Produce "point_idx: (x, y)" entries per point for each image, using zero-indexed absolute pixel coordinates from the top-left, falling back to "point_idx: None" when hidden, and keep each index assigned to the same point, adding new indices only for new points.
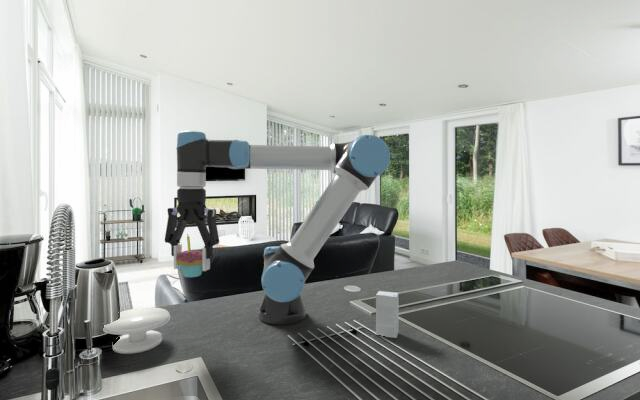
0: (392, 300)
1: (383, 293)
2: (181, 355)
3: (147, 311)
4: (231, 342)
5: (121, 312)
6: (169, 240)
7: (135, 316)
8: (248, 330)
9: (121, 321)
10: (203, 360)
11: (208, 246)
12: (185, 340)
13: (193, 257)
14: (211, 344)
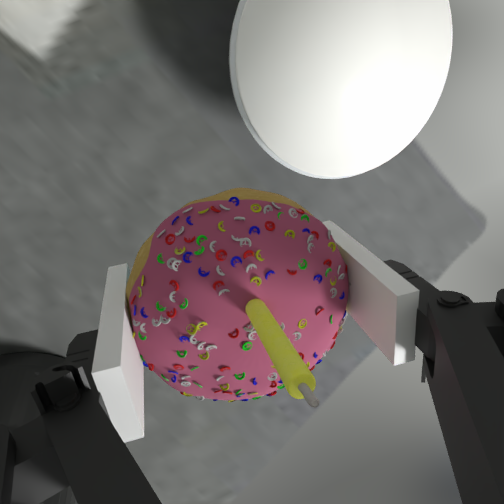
0: None
1: None
2: (111, 41)
3: (356, 129)
4: (30, 190)
5: (437, 83)
6: (499, 316)
7: (364, 69)
8: (49, 286)
9: (378, 2)
10: (7, 35)
11: (44, 394)
12: (186, 142)
13: (170, 260)
14: (82, 151)
